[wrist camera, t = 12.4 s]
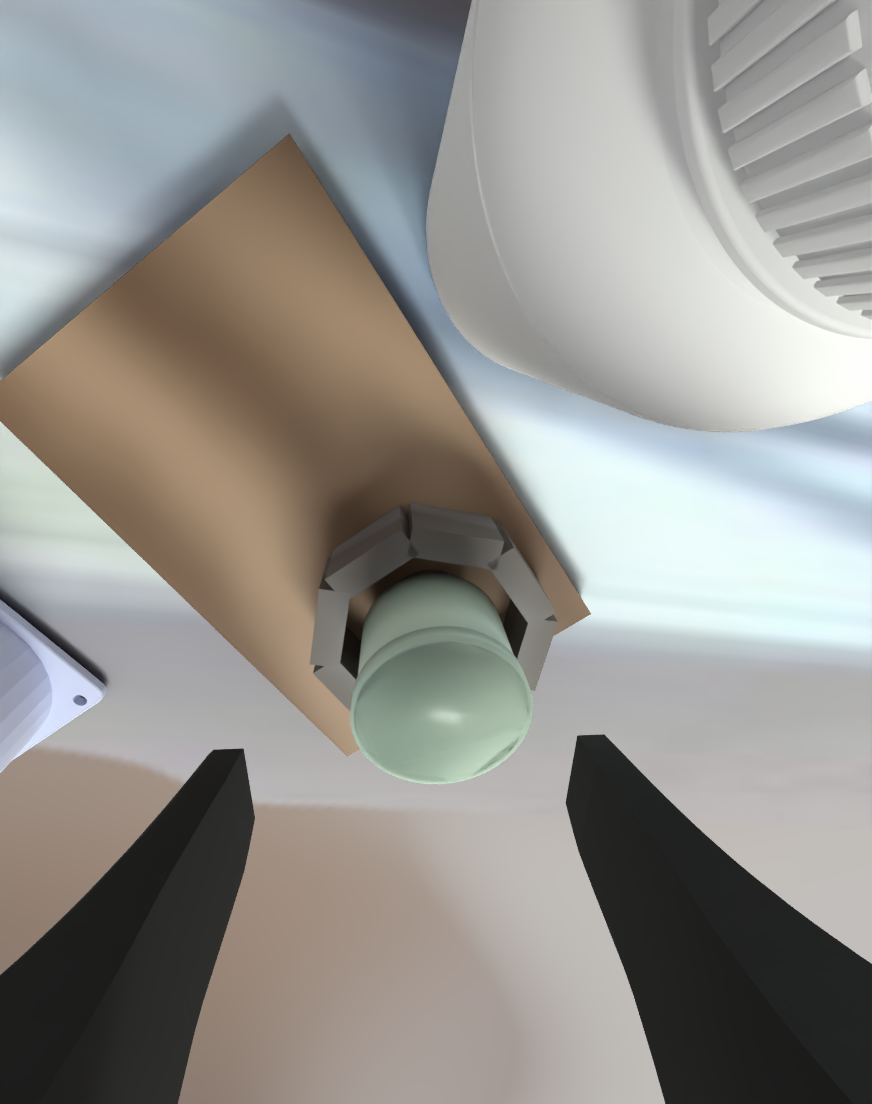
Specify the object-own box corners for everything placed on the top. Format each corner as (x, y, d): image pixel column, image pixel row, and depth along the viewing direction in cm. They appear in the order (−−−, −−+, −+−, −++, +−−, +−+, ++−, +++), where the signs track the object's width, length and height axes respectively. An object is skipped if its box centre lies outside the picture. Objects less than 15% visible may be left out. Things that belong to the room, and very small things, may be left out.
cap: (531, 607, 17) (568, 681, 14) (458, 712, 19) (474, 804, 15) (401, 546, 16) (403, 609, 12) (335, 664, 18) (319, 751, 14)
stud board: (349, 736, 23) (342, 803, 20) (6, 395, 16) (-92, 411, 13) (580, 599, 21) (615, 648, 18) (297, 148, 14) (268, 94, 11)
